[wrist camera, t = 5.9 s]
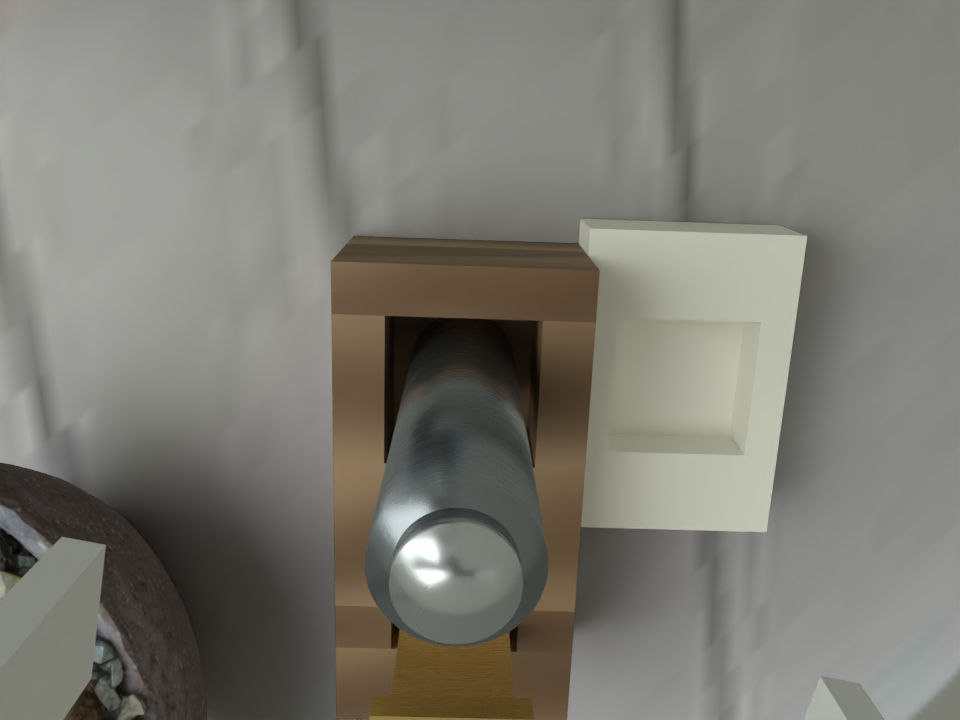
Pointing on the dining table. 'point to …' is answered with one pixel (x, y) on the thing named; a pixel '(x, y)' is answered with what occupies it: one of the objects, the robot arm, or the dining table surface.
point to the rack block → (688, 372)
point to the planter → (108, 601)
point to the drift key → (451, 683)
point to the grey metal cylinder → (458, 494)
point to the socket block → (375, 405)
